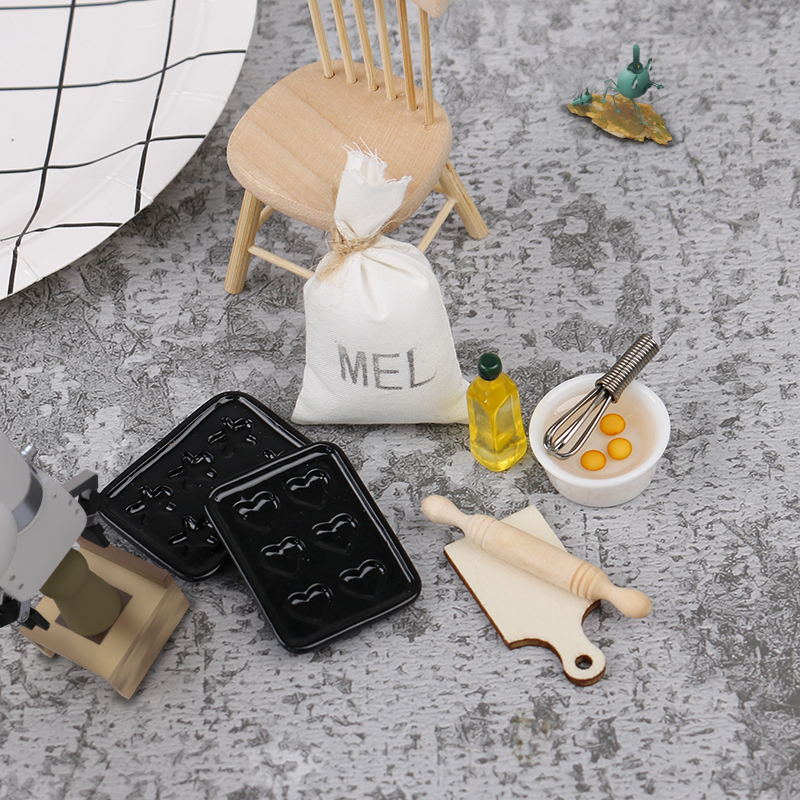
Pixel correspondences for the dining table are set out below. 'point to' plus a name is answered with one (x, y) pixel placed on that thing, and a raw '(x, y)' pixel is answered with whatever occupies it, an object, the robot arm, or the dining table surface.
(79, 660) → the wooden square frame
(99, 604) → the cork
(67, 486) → the robot arm
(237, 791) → the dining table surface
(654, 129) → the teal creature figurine
